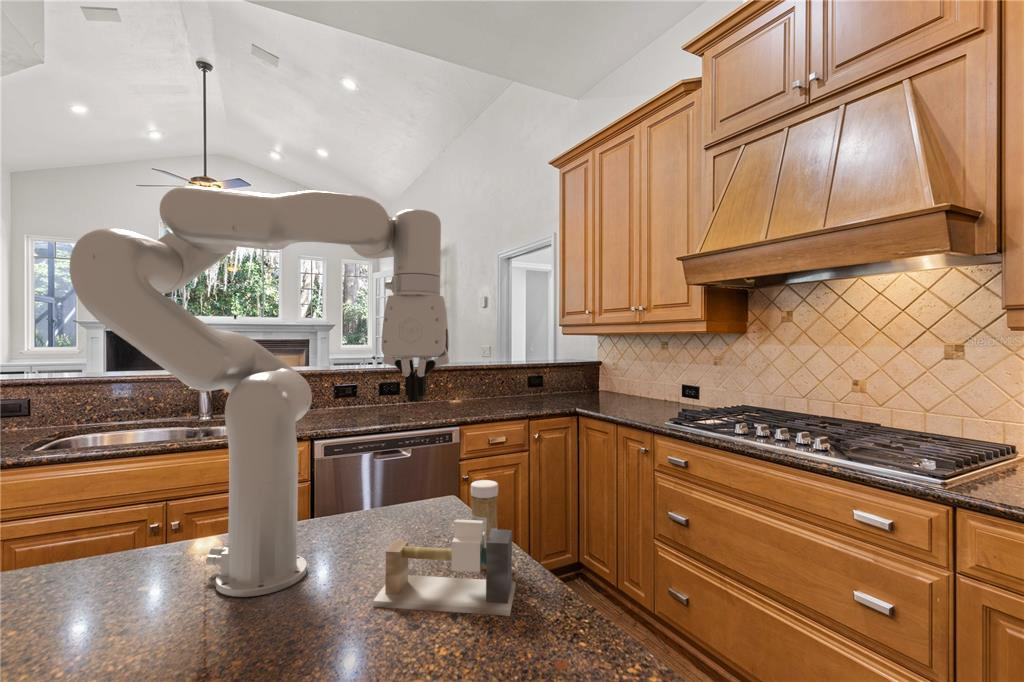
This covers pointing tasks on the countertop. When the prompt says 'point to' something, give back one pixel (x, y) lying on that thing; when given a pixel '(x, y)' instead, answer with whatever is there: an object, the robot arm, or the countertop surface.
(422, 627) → the countertop surface
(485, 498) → the sprinkles bottle
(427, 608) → the linear actuator
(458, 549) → the sleeve
